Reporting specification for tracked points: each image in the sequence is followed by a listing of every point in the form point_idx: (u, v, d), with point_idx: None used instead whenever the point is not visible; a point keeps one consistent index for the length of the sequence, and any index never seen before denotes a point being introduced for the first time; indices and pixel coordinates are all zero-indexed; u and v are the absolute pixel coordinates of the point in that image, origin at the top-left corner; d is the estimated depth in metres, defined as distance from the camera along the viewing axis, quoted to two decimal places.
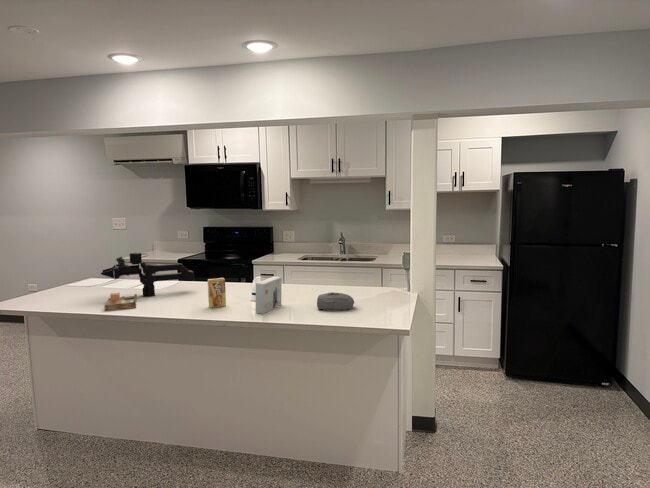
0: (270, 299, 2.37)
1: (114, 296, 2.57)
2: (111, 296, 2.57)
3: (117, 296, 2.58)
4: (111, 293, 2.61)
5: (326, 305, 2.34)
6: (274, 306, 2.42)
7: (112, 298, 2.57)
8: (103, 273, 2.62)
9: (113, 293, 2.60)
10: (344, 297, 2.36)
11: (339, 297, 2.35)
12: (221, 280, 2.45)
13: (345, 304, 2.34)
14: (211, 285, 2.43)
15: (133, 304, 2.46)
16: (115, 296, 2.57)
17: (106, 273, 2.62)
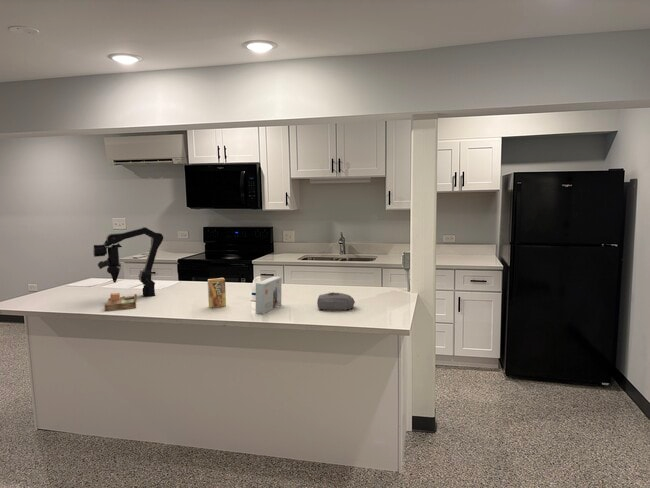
0: (270, 299, 2.37)
1: (114, 296, 2.57)
2: (111, 296, 2.57)
3: (117, 296, 2.58)
4: (111, 293, 2.61)
5: (326, 305, 2.33)
6: (274, 306, 2.42)
7: (112, 298, 2.57)
8: (114, 280, 2.62)
9: (113, 293, 2.60)
10: (344, 297, 2.36)
11: (339, 297, 2.35)
12: (221, 280, 2.45)
13: (345, 304, 2.34)
14: (211, 285, 2.43)
15: (133, 304, 2.46)
16: (115, 296, 2.57)
17: (114, 277, 2.61)
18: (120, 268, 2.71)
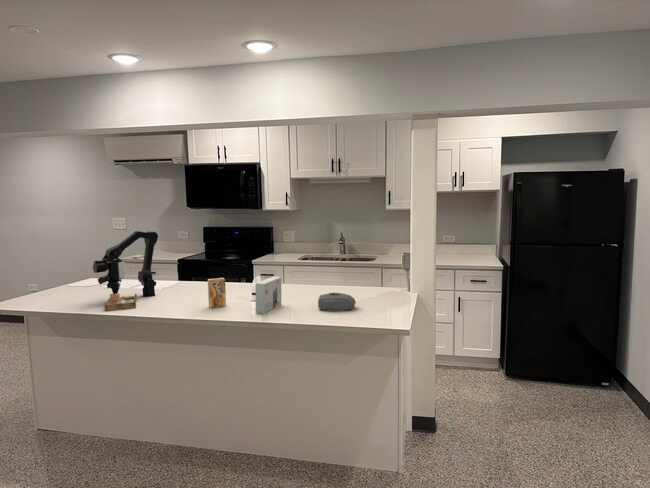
0: (270, 299, 2.37)
1: (114, 296, 2.56)
2: (111, 296, 2.55)
3: (117, 297, 2.56)
4: None
5: (327, 305, 2.33)
6: (274, 306, 2.42)
7: (112, 298, 2.56)
8: None
9: None
10: (345, 297, 2.35)
11: (340, 297, 2.35)
12: (221, 280, 2.45)
13: (346, 304, 2.33)
14: (211, 285, 2.43)
15: (133, 304, 2.46)
16: (115, 296, 2.56)
17: (114, 292, 2.60)
18: None
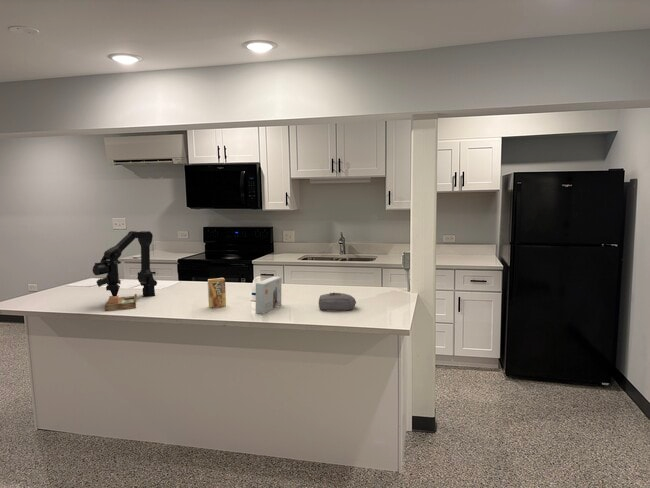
0: (270, 299, 2.37)
1: (113, 299, 2.50)
2: (110, 299, 2.49)
3: (116, 299, 2.51)
4: (110, 296, 2.53)
5: (328, 305, 2.33)
6: (274, 306, 2.42)
7: (111, 301, 2.50)
8: None
9: (112, 296, 2.53)
10: (346, 297, 2.35)
11: (341, 297, 2.34)
12: (221, 280, 2.45)
13: (347, 304, 2.33)
14: (211, 285, 2.43)
15: (133, 304, 2.46)
16: (114, 299, 2.50)
17: (114, 294, 2.54)
18: (119, 286, 2.58)
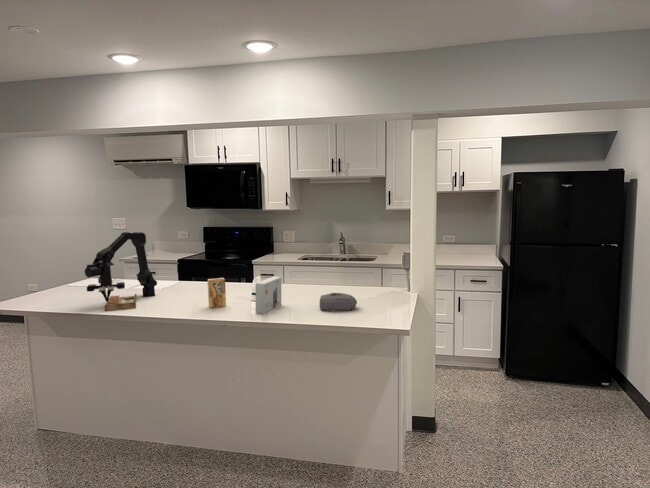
0: (270, 299, 2.37)
1: (114, 299, 2.50)
2: (111, 299, 2.50)
3: (117, 299, 2.51)
4: (111, 296, 2.53)
5: (329, 305, 2.32)
6: (274, 306, 2.42)
7: (112, 301, 2.50)
8: None
9: (113, 296, 2.53)
10: (347, 297, 2.35)
11: (342, 297, 2.34)
12: (221, 280, 2.45)
13: (348, 304, 2.33)
14: (211, 285, 2.43)
15: (133, 304, 2.46)
16: (115, 299, 2.50)
17: None
18: (109, 290, 2.48)
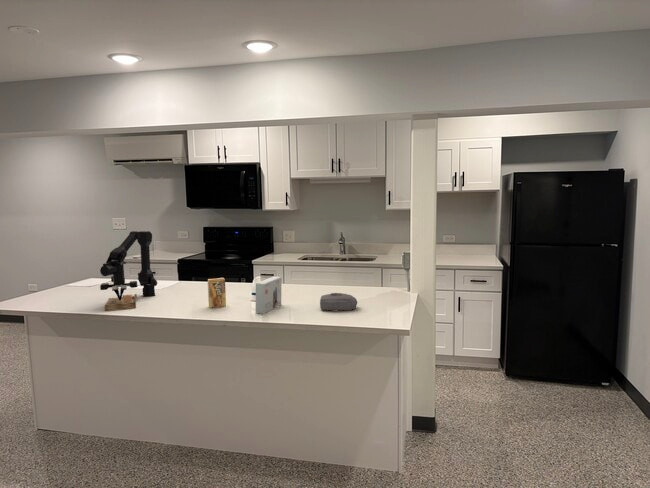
0: (270, 299, 2.37)
1: (126, 298, 2.52)
2: (123, 298, 2.52)
3: (129, 298, 2.53)
4: (123, 295, 2.56)
5: (330, 306, 2.32)
6: (274, 306, 2.42)
7: (124, 300, 2.52)
8: None
9: (125, 295, 2.56)
10: (347, 297, 2.35)
11: (342, 297, 2.34)
12: (221, 280, 2.45)
13: (349, 304, 2.33)
14: (211, 285, 2.43)
15: (133, 304, 2.46)
16: (127, 298, 2.52)
17: (117, 295, 2.52)
18: (122, 289, 2.50)
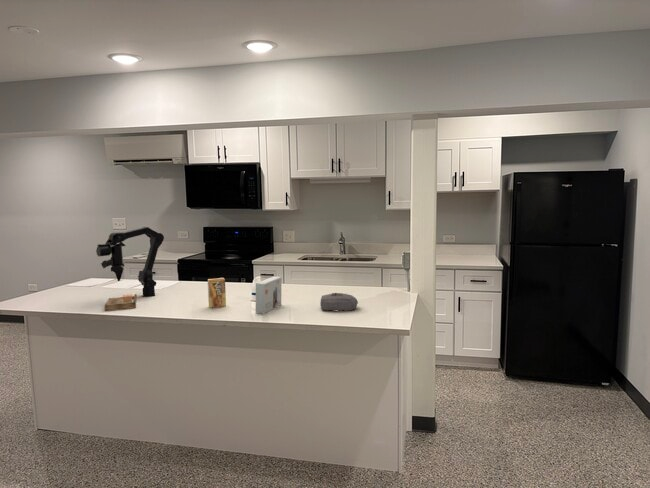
0: (270, 299, 2.37)
1: (126, 298, 2.52)
2: (123, 298, 2.52)
3: (130, 298, 2.53)
4: (123, 295, 2.56)
5: (330, 306, 2.32)
6: (274, 306, 2.42)
7: (124, 300, 2.52)
8: (118, 278, 2.62)
9: (125, 295, 2.56)
10: (348, 297, 2.35)
11: (343, 297, 2.34)
12: (221, 280, 2.45)
13: (349, 304, 2.33)
14: (211, 285, 2.43)
15: (133, 304, 2.46)
16: (127, 298, 2.52)
17: (118, 276, 2.61)
18: (123, 268, 2.65)
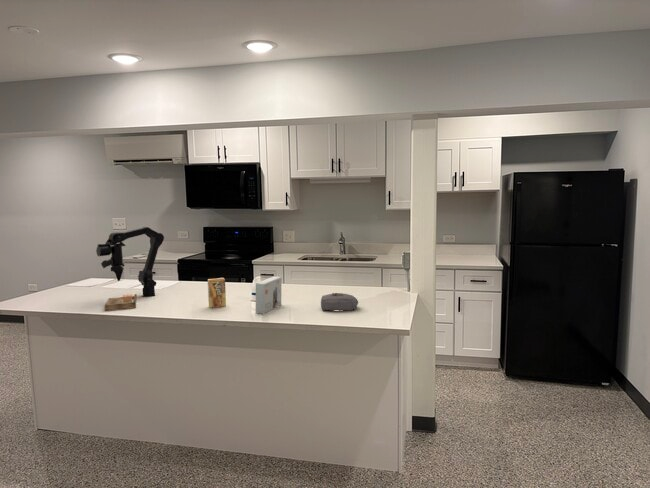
0: (270, 299, 2.37)
1: (126, 298, 2.52)
2: (123, 298, 2.52)
3: (130, 298, 2.53)
4: (123, 295, 2.56)
5: (331, 306, 2.32)
6: (274, 306, 2.42)
7: (124, 300, 2.52)
8: (118, 278, 2.62)
9: (125, 295, 2.56)
10: (348, 297, 2.34)
11: (343, 298, 2.34)
12: (221, 280, 2.45)
13: (349, 304, 2.33)
14: (211, 285, 2.43)
15: (133, 304, 2.46)
16: (127, 298, 2.52)
17: (118, 276, 2.61)
18: (123, 268, 2.65)
